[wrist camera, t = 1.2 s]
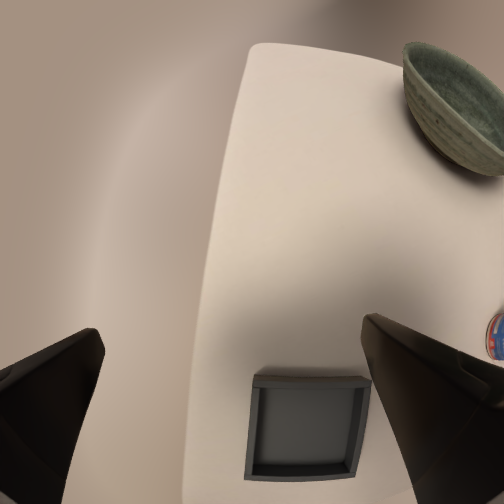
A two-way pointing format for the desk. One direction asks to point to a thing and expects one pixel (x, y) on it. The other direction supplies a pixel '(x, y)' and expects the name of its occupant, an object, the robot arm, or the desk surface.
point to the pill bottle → (496, 338)
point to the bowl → (455, 107)
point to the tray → (306, 427)
